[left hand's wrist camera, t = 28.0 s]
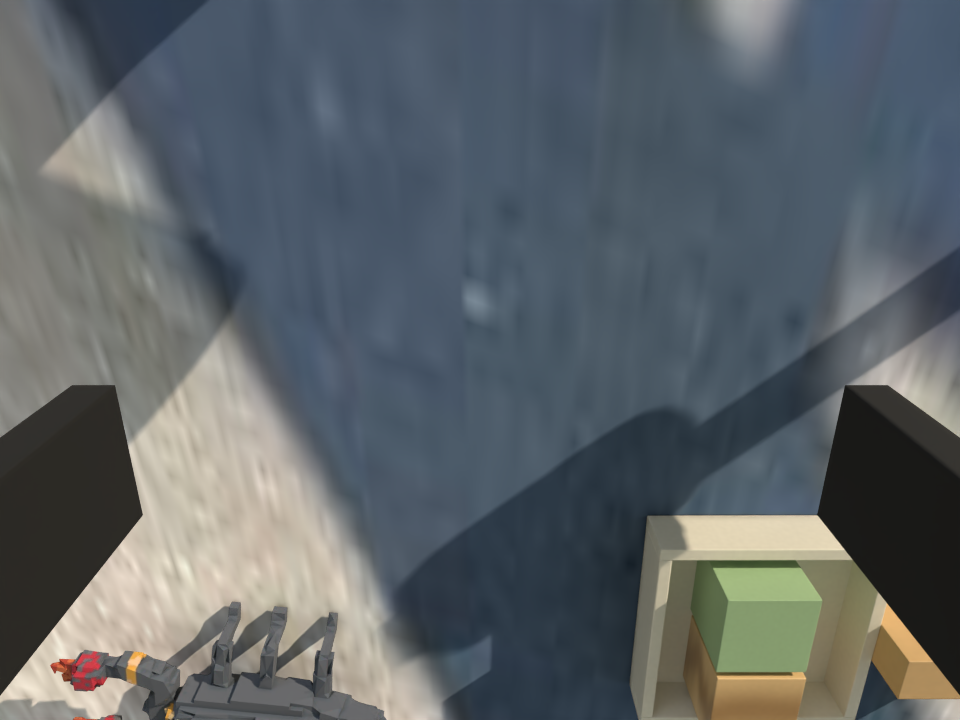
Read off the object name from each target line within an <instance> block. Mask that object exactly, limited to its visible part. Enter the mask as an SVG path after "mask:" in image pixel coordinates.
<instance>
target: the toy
mask: <svg viewBox="0 0 960 720" xmlns="http://www.w3.org/2000/svg"><path fill="white" fill-rule="evenodd" d="M240 616H241V603H239V602H232V603H231V605H230V607H229V616H228V621H227V624H226V626H225V628H224V630H223V632H222V634H221V637H220V639H219V640H217V641H216V642H215V644H214V645H213V648H212V663H211V674H209V675H200V674H193V675H191V676H189V677H188V678H187V680H186V682H185V684H184V686H183V687H180V670H179V669H176V666H171V665H169V664H166V662H165V661H161V660H157V659H153V658H152V657H150V656H148V655H146V654H144V653H141V652H132V651H125V652H124V654H123V655H121V656H119V657H112V656H109V653H102V652H95V651H88V650H84V652H82V653H80V654H79V656H78V657H77V659H76V660H73V659H59V660H60V662H57V663H52V664H51V665H50V666H51V668H52V670H53V671H54V673H56V671H60V672H63V674H62V677H63V680H64V681H71V682H70V684H71V685H73V686H74V690H75V691H94V689H95V688H96V687H100V686H101V685H103V684H104V682H105V681H106V679H107V678H108V677H111V678H119V679H122V680H124V681H127V682H129V683H131V684H135V685H138V686H142V687H145V688H147V689H149V690H151V691H150V694H149V698H148V699H147V700H146V701H145V703H144V706H143V711H145V712H147V714H148V715H149V718H150V720H386V718H385V717H384V716H383V715H384V711H383V710H380V709H377V707H376V706H372V705H367V704H364V703H360V702H358V701H355V700H354V699H352V698H351V695H348V694H344V693H340V692H336V691H332V665H333V658H334V652H331V650H332V646H333V641H334V638H335V634H336V630H337V618H338V613H331V612H329V618H328V623H327V629H326V634H325V637H324V641H323V645H322V648H321V651H318V650H317V652H316V656H315V671H314V673H313V683H312V681H310V680H304V679H298V678H292V677H288V678H286V679H285V678H281V677H276V676H275V674H276V665H277V655H278V645H279V642H280V640H281V637H282V634H283V632H284V629H285V625H286V622H287V608H285V607H276V606H275V607H274V609H273V612H272V619H271V626H270V631H269V635H268V637H267V640H266V642H265V645H264V647H263V650H262V654H261V662H260V674H255V673H246V672H242V673H241V675H240V674H232V673H231V660H232V652H233V642H234V641H232V639H233V636H234V633H235V631H236V628H237V626H238V624H239V621H240ZM73 720H122V716H115V715H109V716H107V717H101V719H85V718H83V717H75V718H74V719H73Z"/></svg>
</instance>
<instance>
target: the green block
mask: <svg viewBox="0 0 960 720" xmlns="http://www.w3.org/2000/svg"><path fill="white" fill-rule="evenodd" d="M821 605H822V599H821V597H820V596H819V594H818V593H817V591H816V590H815V588H814V587H813V585H812V584H811V582H810V581H809V579H808V578H807V576H806V575H805V573H804V572H803V570H802V569H801V567H800V566H799V564H798V563H797V561H796V560H697V566H696V573H695V580H694V587H693V594H692V601H691V608H690V609H691V611H692V614H693V616H694V619H695V621H696V624H697V626H698V629H699V631H700V633H701V636H702V638H703V641H704V643H705V646H706V648H707V651H708V653H709V656H710V658H711V661H712V663H713V666H714V668H715V670H716V672H806V670H807V666H808V661H809V657H810V653H811V648H812V644H813V640H814V635H815V631H816V627H817V622H818V618H819V614H820V610H821Z"/></svg>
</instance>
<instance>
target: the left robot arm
mask: <svg viewBox="0 0 960 720" xmlns="http://www.w3.org/2000/svg"><path fill="white" fill-rule="evenodd" d="M142 515H143V514H142V509H141V505H140V500H139V495H138V491H137V486H136V481H135V477H134V472H133V467H132V463H131V458H130V454H129V449H128V444H127V440H126V435H125V430H124V426H123V421H122V416H121V412H120V407H119V402H118V398H117V393H116V389H115V385H72V386H71V387H69V388H68V389H67V390H65V391H64V392H62V393H61V394H60V395H58V396H57V397H56V398H54V399H53V400H51V401H50V402H49V403H47V404H46V405H45V406H43V407H42V408H40V409H39V410H38V411H36V412H35V413H34V414H32V415H31V416H29V417H28V418H27V419H25V420H24V421H23V422H21V423H20V424H18V425H17V426H16V427H14V428H13V429H12V430H10V431H9V432H8V433H6V434H5V435H3V436H2V437H1V438H0V695H1V694H2V693H3V691H4V690H5V689H6V688H7V686H8V685H9V684H10V683H11V681H12V680H13V679H14V677H15V676H16V675H17V674H18V672H19V671H20V670H21V669H22V667H23V666H24V665H25V664H26V662H27V661H28V660H29V658H30V657H31V656H32V655H33V653H34V652H35V651H36V650H37V648H38V647H39V646H40V645H41V643H42V642H43V641H44V639H45V638H46V637H47V636H48V634H49V633H50V632H51V631H52V629H53V628H54V627H55V626H56V624H57V623H58V622H59V620H60V619H61V618H62V617H63V615H64V614H65V613H66V612H67V610H68V609H69V608H70V607H71V605H72V604H73V603H74V601H75V600H76V599H77V598H78V596H79V595H80V594H81V593H82V591H83V590H84V589H85V588H86V586H87V585H88V584H89V583H90V581H91V580H92V579H93V577H94V576H95V575H96V574H97V572H98V571H99V570H100V569H101V567H102V566H103V565H104V564H105V562H106V561H107V560H108V558H109V557H110V556H111V555H112V553H113V552H114V551H115V550H116V548H117V547H118V546H119V545H120V543H121V542H122V541H123V539H124V538H125V537H126V536H127V534H128V533H129V532H130V531H131V529H132V528H133V527H134V526H135V524H136V523H137V522H138V520H139V519H140V518H141V517H142ZM817 515H818V517H819V518H820V519H821V520H822V522H823V523H824V524H825V526H826V527H827V528H828V529H829V531H830V532H831V533H832V534H833V536H834V537H835V538H836V539H837V541H838V542H839V543H840V545H841V546H842V547H843V548H844V550H845V551H846V552H847V553H848V555H849V556H850V557H851V558H852V560H853V561H854V562H855V564H856V565H857V566H858V567H859V569H860V570H861V571H862V572H863V574H864V575H865V576H866V577H867V579H868V580H869V581H870V583H871V584H872V585H873V586H874V588H875V589H876V590H877V591H878V593H879V594H880V595H881V596H882V598H883V599H884V600H885V601H886V603H887V604H888V605H889V607H890V608H891V609H892V610H893V612H894V613H895V614H896V615H897V617H898V618H899V619H900V620H901V622H902V623H903V624H904V626H905V627H906V628H907V629H908V631H909V632H910V633H911V634H912V636H913V637H914V638H915V639H916V641H917V642H918V643H919V645H920V646H921V647H922V648H923V650H924V651H925V652H926V653H927V655H928V656H929V657H930V658H931V660H932V661H933V662H934V664H935V665H936V666H937V667H938V669H939V670H940V671H941V672H942V674H943V675H944V676H945V677H946V679H947V680H948V681H949V683H950V684H951V685H952V686H953V688H954V689H955V690H956V691H957V693H958V694H959V695H960V438H959V437H958V436H957V435H955V434H954V433H952V432H951V431H950V430H948V429H947V428H946V427H944V426H943V425H942V424H940V423H939V422H937V421H936V420H935V419H933V418H932V417H931V416H929V415H928V414H926V413H925V412H924V411H922V410H921V409H920V408H918V407H917V406H915V405H914V404H913V403H911V402H910V401H909V400H907V399H906V398H904V397H903V396H902V395H900V394H899V393H898V392H896V391H895V390H893V389H892V388H891V387H889V386H888V385H845V389H844V393H843V398H842V402H841V407H840V412H839V416H838V421H837V426H836V430H835V435H834V440H833V444H832V449H831V454H830V458H829V463H828V467H827V472H826V477H825V481H824V486H823V491H822V495H821V500H820V505H819V509H818V514H817Z"/></svg>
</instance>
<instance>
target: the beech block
mask: <svg viewBox="0 0 960 720" xmlns="http://www.w3.org/2000/svg"><path fill="white" fill-rule="evenodd" d="M683 677H684V680H685V683H686V686H687V689H688V692H689V694H690V697H691V700H692V703H693V706H694V709H695V712H696V715H697V717H698V720H797V716H798V712H799V708H800V704H801V699H802V695H803V691H804V686H805V682H806V677H805V675H804V674H803V672H716V670H715V668H714V666H713V663H712V661H711V658H710V656H709V653H708V651H707V648H706V646H705V643H704V641H703V638H702V636H701V633H700V631H699V629H698V626H697V624H696V621H695V619H694V616H693V615H692V616H691V623H690V629H689V636H688V643H687V650H686V657H685V664H684V671H683Z"/></svg>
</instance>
